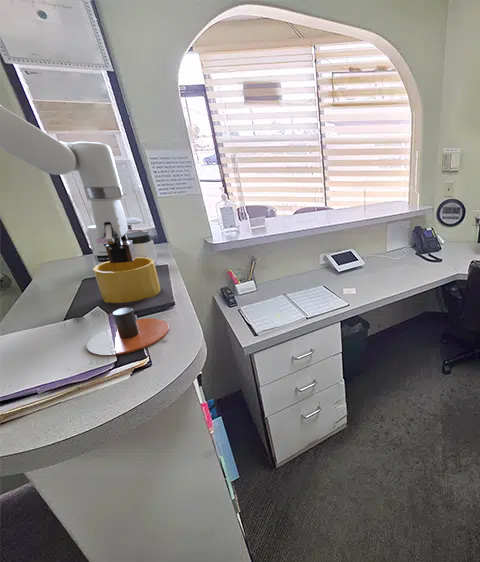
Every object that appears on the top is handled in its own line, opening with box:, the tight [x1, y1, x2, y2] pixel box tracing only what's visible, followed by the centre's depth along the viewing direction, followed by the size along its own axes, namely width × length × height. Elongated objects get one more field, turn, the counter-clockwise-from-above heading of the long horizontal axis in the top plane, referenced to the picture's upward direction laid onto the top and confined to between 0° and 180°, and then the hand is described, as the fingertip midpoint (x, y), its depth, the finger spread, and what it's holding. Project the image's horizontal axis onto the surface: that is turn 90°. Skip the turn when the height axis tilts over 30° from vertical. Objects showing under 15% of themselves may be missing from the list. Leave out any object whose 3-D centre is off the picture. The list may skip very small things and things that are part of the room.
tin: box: [92, 257, 161, 304], centre depth 90 cm, size 14×14×10 cm
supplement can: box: [85, 224, 118, 266], centre depth 110 cm, size 8×8×15 cm
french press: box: [122, 191, 144, 234], centre depth 121 cm, size 10×12×25 cm
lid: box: [111, 307, 170, 356], centre depth 69 cm, size 15×15×7 cm
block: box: [106, 240, 136, 264], centre depth 87 cm, size 5×5×5 cm
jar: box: [126, 231, 160, 267], centre depth 112 cm, size 9×8×12 cm
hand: (123, 258), depth 88 cm, fingers closed on block, 5 cm apart
